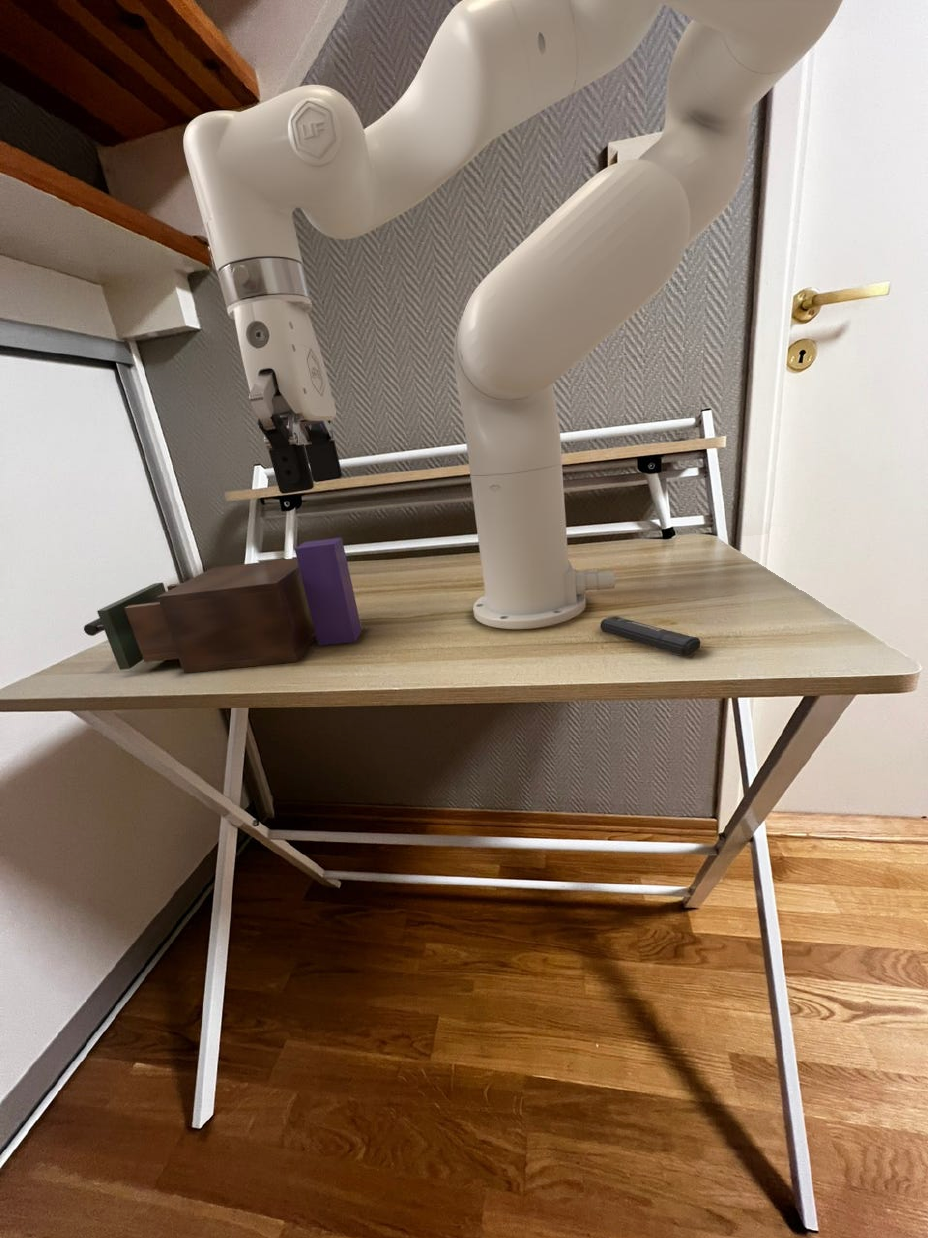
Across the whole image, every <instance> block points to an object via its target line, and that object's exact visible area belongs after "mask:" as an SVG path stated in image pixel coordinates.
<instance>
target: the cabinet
mask: <svg viewBox="0 0 928 1238" xmlns="http://www.w3.org/2000/svg"><path fill="white" fill-rule="evenodd" d="M182 583H183V584H181V585H179V586H177V587H175V588H173V589H171V590H169V591H168V590H166V592H165V593H163V594H162V595H160V596H158V600H159V603H160V606H161V609H162V612H163V615H164V617H165V620H166V623H167V626H168V629H169V632H170V635H171V638H172V641H173V644H174V646H175V649H176V652H177V655H178V658H179V659H178V660H179V663H180V664H179V665H180V667H181V669H182V672H183V674H190V673H201V672H209V671H219V670H228V669H239V668H249V667H259V666H268V665H278V664H287V663H298V662H299V661H300V659H302V657H303V656H304V655H305V654H306V653H307V651H308V650H309V649H310V647H311V646H312V645H313V643H314V642H315V641H317V638H316V634H315V630H314V626H313V622H312V618H311V613H310V609H309V605H308V601H307V597H306V593H305V589H304V585H303V581H302V577H301V573H300V569H299V565H298V561H297V557H291V558H283V559H276V560H267V561H260V562H259V561H257V562H250V563H249V562H248V563H242V564H235V565H233V564H232V565H226V566H215V567H211V568H209V569H207V570H206V571H204V572H201V573H199V574H198V575H196V576H194V577H192V578H190V579H189V580H187V581H185V582H182Z"/></svg>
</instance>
